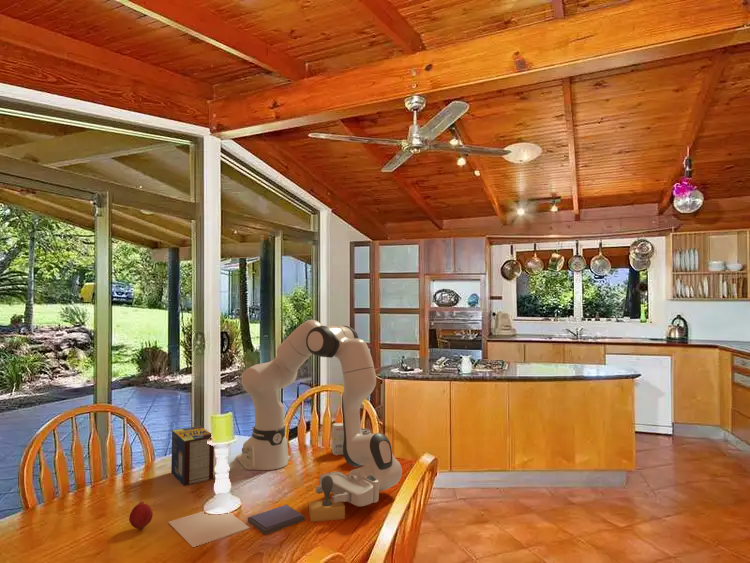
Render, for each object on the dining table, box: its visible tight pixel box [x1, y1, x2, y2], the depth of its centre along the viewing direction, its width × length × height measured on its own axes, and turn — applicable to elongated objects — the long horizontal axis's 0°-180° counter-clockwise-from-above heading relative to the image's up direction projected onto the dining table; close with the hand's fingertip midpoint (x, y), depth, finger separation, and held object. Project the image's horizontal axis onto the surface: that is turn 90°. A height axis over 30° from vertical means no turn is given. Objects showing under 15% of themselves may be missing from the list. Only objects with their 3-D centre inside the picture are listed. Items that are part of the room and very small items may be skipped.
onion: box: [128, 500, 154, 531], centre depth 136 cm, size 6×6×8 cm
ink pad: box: [247, 504, 306, 536], centre depth 142 cm, size 10×13×2 cm
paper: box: [167, 510, 250, 548], centre depth 139 cm, size 18×16×1 cm
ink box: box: [331, 422, 344, 456], centre depth 202 cm, size 9×5×12 cm, turn 104°
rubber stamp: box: [308, 476, 346, 523], centre depth 146 cm, size 10×6×12 cm, turn 103°
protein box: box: [170, 425, 215, 487], centre depth 175 cm, size 10×15×16 cm
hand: (324, 494), depth 145 cm, fingers open, 7 cm apart
